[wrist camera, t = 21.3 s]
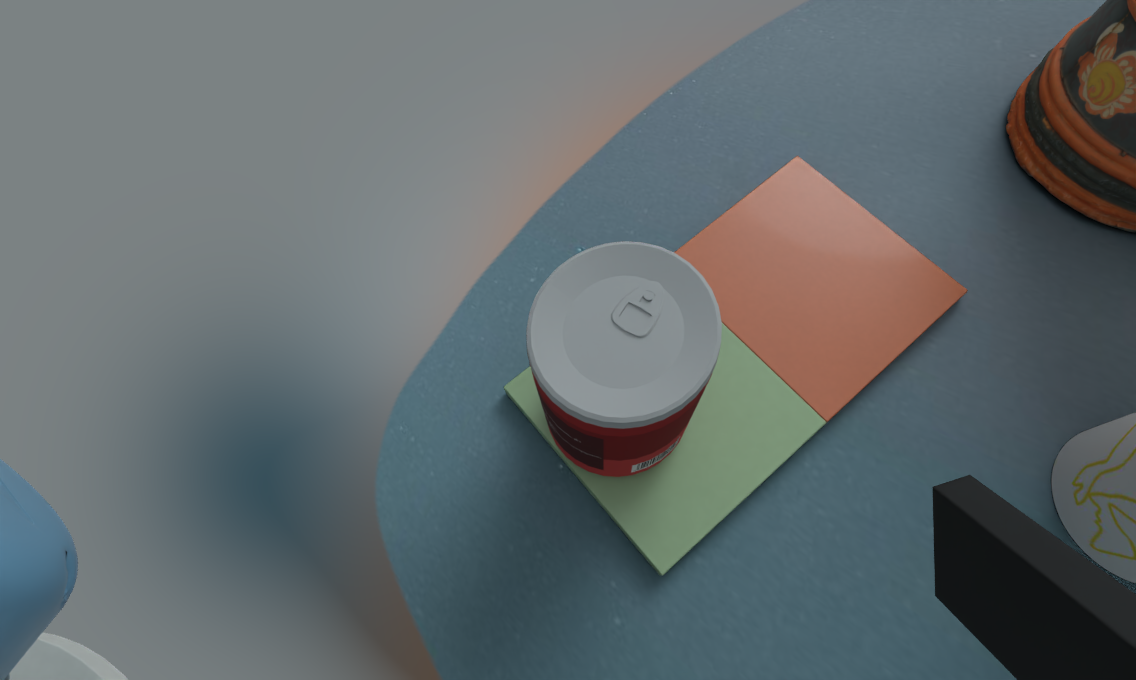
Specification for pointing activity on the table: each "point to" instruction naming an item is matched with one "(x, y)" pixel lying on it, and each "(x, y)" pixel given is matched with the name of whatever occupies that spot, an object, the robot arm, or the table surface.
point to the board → (771, 351)
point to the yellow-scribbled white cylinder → (1100, 493)
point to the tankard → (1084, 117)
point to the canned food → (622, 354)
